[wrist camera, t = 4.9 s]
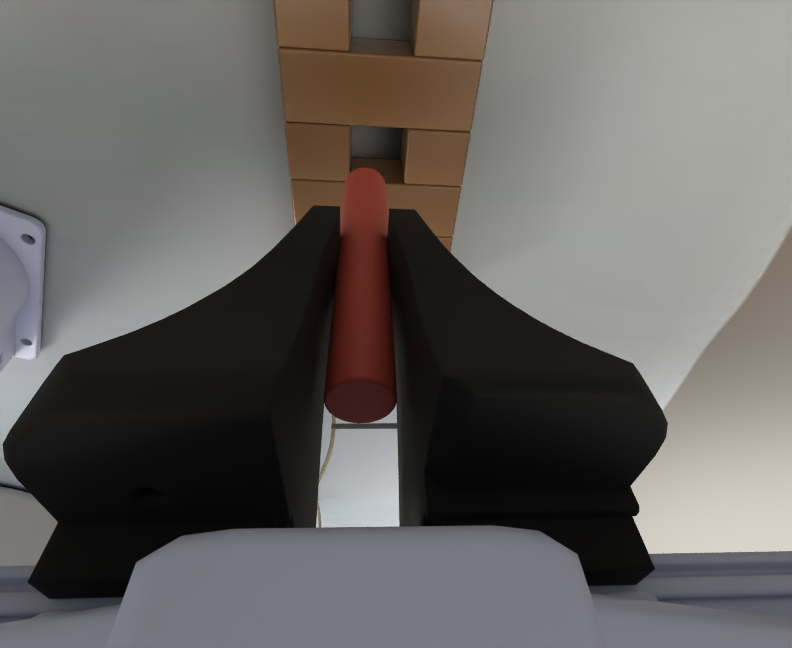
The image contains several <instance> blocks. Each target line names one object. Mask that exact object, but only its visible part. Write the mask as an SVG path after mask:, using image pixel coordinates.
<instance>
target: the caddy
mask: <svg viewBox="0 0 792 648" xmlns="http://www.w3.org/2000/svg"><path fill="white" fill-rule="evenodd" d="M493 1H494V0H412V14H411V27H410V41H396V40H381V39H367V38H352V0H273V5H274V15H275V26H276V36H277V44H278V46H280V47H279V48H278V57H279V67H280V78H281V89H282V99H283V110H284V119H285V121H286V122H285V132H286V143H287V153H288V164H289V175H290V178H291V180H290V184H291V194H292V205H293V215H294V226H295V225H296V224H297V223H298V222H299V221H300V220H301V218H302V217H303V216H304V215H305V214H306V213H307V211H308V210H309V209H310V208H311V207H312V206H314V205H318V206H340V228H341V218H342V208H343V198H344V187H345V181H346V178H347V177H348V175H349V174H350V173H351V172H352V171H354V170H355V169H358V168H363V167H367V168H371V169H374V170H376V171H377V172H379V173H380V174H381V176H382V177H383V179H384V181H385V185H386V203H387V221H388V218H389V208H391V209H415V210H416V211H417V212H418V214H419V215H420V216H421V217H422V219H423V220H424V221H425V223H426V224H427V225H428V227H429V228H430V229H431V230H432V232H433V233H434V234H435V235H436V237H437V238H438V239H439V240H440V242H441V243H442V244H443V245H444V246H445V247H446V248H447V249H448V251H449V252H450V251H451V245H452V239H453V238H452V236H453V233H454V227H455V221H456V215H457V209H458V204H459V198H460V192H461V185H462V180H463V175H464V169H465V163H466V157H467V151H468V145H469V140H470V132H469V131H470V130H471V128H472V122H473V116H474V110H475V104H476V99H477V93H478V87H479V81H480V75H481V69H482V61H481V60H483V59H484V53H485V48H486V42H487V36H488V30H489V24H490V19H491V13H492V7H493ZM352 125H357V126H375V127H394V128H403V136H402V150H401V160H391V159H371V158H352Z"/></svg>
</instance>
